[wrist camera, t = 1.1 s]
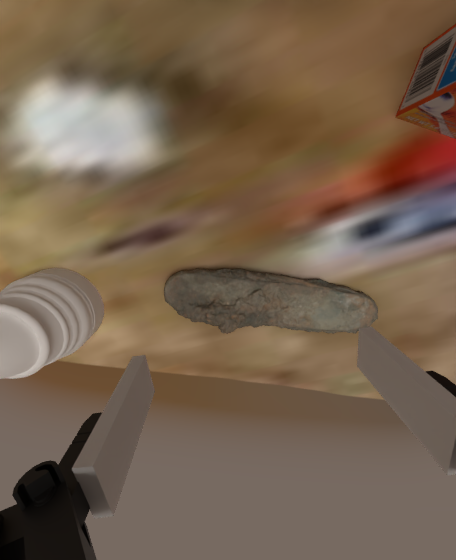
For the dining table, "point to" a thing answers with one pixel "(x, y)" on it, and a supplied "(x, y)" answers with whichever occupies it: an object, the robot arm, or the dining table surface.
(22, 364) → the honey pot
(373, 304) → the long grey stone
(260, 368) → the dining table surface
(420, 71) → the pasta box
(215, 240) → the dining table surface
